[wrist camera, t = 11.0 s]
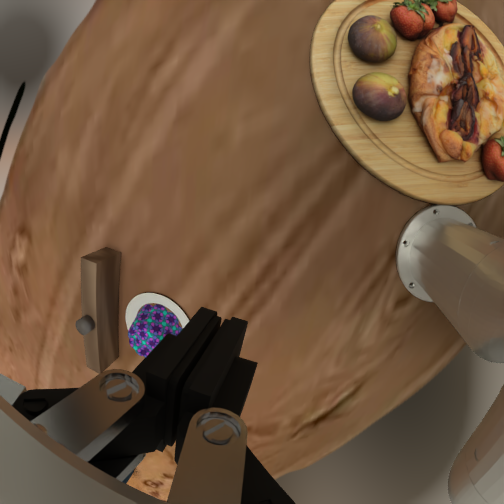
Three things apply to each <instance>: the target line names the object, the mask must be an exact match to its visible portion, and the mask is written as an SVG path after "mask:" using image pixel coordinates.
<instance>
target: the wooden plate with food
mask: <svg viewBox="0 0 504 504" xmlns="http://www.w3.org/2000/svg"><path fill="white" fill-rule="evenodd" d="M309 63H310V74H311V80H312V84H313V87H314V91H315V94H316V97H317V100H318V103H319V105H320V108H321V110H322V112H323V114H324V116H325V118H326V121H327V122H328V124H329V125H330V127H331V129H332V130H333V132H334V134H335V135H336V136H337V138H338V139H339V141H340V142H341V143H342V145H343V146H344V147H345V148H346V149H347V151H348V152H349V153H350V154H351V155H352V156H353V158H354V159H355V160H356V161H357V162H358V163H359V164H360V165H361V166H362V167H363V168H365V169H366V170H367V171H368V172H369V173H370V174H372V175H373V176H375V177H376V178H377V179H379V180H380V181H381V182H383V183H385V184H386V185H388V186H390V187H391V188H393V189H395V190H396V191H398V192H400V193H402V194H404V195H406V196H409V197H411V198H414V199H417V200H420V201H424V202H427V203H432V204H437V205H462V204H468V203H472V202H476V201H479V200H481V199H483V198H486V197H488V196H489V195H491V194H493V193H494V192H495V191H496V190H498V189H499V188H500V187H502V186H503V185H504V47H503V45H502V44H501V43H500V41H499V40H498V39H497V37H496V36H495V35H494V33H493V32H492V31H491V30H490V29H489V28H488V27H487V26H486V25H485V24H484V23H483V22H482V21H481V20H480V19H479V18H478V17H477V16H476V15H474V14H473V13H472V12H471V11H469V10H468V9H467V8H465V7H464V6H463V5H461V4H460V3H458V2H457V1H456V0H335V1H333V2H332V3H331V4H330V5H329V6H328V7H327V9H326V10H325V11H324V12H323V14H322V15H321V17H320V19H319V20H318V22H317V24H316V26H315V29H314V32H313V35H312V39H311V45H310V60H309Z"/></svg>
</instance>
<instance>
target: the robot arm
mask: <svg viewBox="0 0 504 504" xmlns="http://www.w3.org/2000/svg"><path fill="white" fill-rule="evenodd" d="M434 210H435V213H433V211H434ZM404 240H406V243H405V244H403V241H404ZM396 265H397V271H398V274H399V277H400V279H401V281H402V282H403V284H404V286H405V287H406V288H407V290H408V291H409V292H410V293H411V294H413V295H414V296H415V297H417V298H419V299H421V300H424V301H427V302H434V303H435V304H436V305H437V306H438V308H439V309H440V310H441V311H442V313H443V314H444V315H445V316H446V318H447V319H448V320H449V321H450V323H451V324H452V325H453V327H454V328H455V329H456V330H457V332H458V333H459V334H460V336H461V337H462V338H463V340H464V341H465V342H466V343H467V345H468V346H469V347H470V348H471V350H472V351H473V352H474V353H475V354H476V355H478V356H479V357H480V358H482V359H484V360H487V361H490V362H496V363H504V239H502V238H500V237H498V236H495V235H493V234H490V233H488V232H486V231H483V230H481V229H478V228H477V227H476V225H475V223H474V222H473V220H472V219H471V217H470V216H469V215H468V214H467V213H465V212H464V211H463V210H461V209H459V208H457V207H455V206H452V205H437V204H435V205H431V206H428V207H426V208H424V209H422V210H420V211H419V212H417V213H416V214H415V215H414V216H413V217H412V218H411V219H410V220H409V221H408V223H407V224H406V225H405V227H404V229H403V231H402V232H401V235H400V238H399V240H398V244H397V249H396ZM411 282H412V284H411V285H409V284H410V283H411ZM220 324H221V317H218V316H217V312H216V311H213V310H210V309H207V308H204V307H201V308H200V309H199V310H198V312H197V313H196V314H195V315H194V316H193V317H192V319H191V320H190V321H189V322H188V323H187V324H186V326H185V327H184V328H183V329H182V330H181V331H180V333H179V334H178V335H177V336H176V335H173V334H170V333H169V334H167V335H166V336H165V337H164V338H163V339H162V340H161V341H160V342H159V343H158V344H157V345H156V347H155V348H154V349H153V350H152V351H151V352H150V353H149V354H148V355H147V356H146V358H145V359H144V360H143V361H142V362H141V363H140V364H139V365H138V366H137V367H136V368H135V370H134V371H133V372H132V373H131V372H129V371H126V370H122V369H112V370H107V371H104V372H102V373H100V374H99V375H97V376H96V377H95V378H93V379H92V380H90V381H89V382H87V383H86V384H84V385H83V386H82V387H80V388H66V389H34V390H28V391H27V390H26V387H25V386H23V385H21V384H19V383H17V382H15V381H13V380H11V379H9V378H8V377H6V376H4V375H2V374H0V504H295V502H294V501H293V500H292V499H291V498H290V497H289V496H288V495H287V493H286V492H285V491H284V490H283V489H282V488H281V487H280V486H279V484H278V483H277V482H276V481H275V480H274V479H273V477H272V476H271V475H270V474H269V473H268V471H267V470H266V469H265V468H264V467H263V465H262V464H261V463H260V462H259V460H258V459H257V458H256V457H255V456H254V454H253V453H252V452H251V450H250V449H249V448H248V447H247V445H246V443H247V427H246V425H245V423H244V421H243V420H242V419H241V418H240V415H241V412H242V410H243V407H244V404H245V401H246V398H247V395H248V392H249V389H250V386H251V383H252V380H253V376H254V373H255V370H256V367H257V362H253V361H250V360H247V359H243V358H240V357H239V355H240V351H241V348H242V344H243V340H244V336H245V332H246V328H247V324H248V321H245V320H242V319H238V318H235V317H232V318H231V320H228V319H225V320H224V322H223V323H222V325H221V327H220ZM175 441H176V448H175V462H176V463H177V468H176V472H175V475H174V479H173V482H172V485H171V489H170V492H169V496H168V499H167V502H164V501H162V500H159V499H157V498H155V497H153V496H150V495H148V494H146V493H144V492H141V491H139V490H137V489H135V488H133V487H131V486H129V485H127V484H125V483H123V482H122V481H123V480H124V479H125V478H126V477H127V476H128V475H129V474H130V473H131V472H132V471H133V470H134V469H135V468H136V467H137V465H138V464H139V463H140V462H141V461H142V460H143V459H144V457H145V455H146V453H149V452H154V451H155V450H156V449H157V450H159V451H161V452H163V450H164V449H165V447H166V445H169V446H173V444H174V443H175ZM448 494H449V498H450V501H451V503H452V504H504V385H503V386H502V388H501V390H500V393H499V394H498V396H497V398H496V399H495V401H494V402H493V404H492V406H491V407H490V409H489V410H488V412H487V413H486V415H485V417H484V418H483V419H482V421H481V422H480V424H479V425H478V426H477V428H476V429H475V431H474V432H473V433H472V435H471V436H470V438H469V439H468V441H467V442H466V443H465V445H464V446H463V448H462V449H461V450H460V452H459V453H458V455H457V457H456V458H455V460H454V462H453V465H452V467H451V470H450V473H449V476H448Z"/></svg>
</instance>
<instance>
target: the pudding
mask: <svg viewBox="0 0 504 504" xmlns="http://www.w3.org/2000/svg"><path fill="white" fill-rule="evenodd" d="M148 303H158V304H161V305H158V304H156V305H155V306H151V305H149V304H148ZM145 304H148V305H145ZM143 305H145V306H144V307H143V308H142V309H141V311H140V312H139V313H138V314H137V312H138V310H139V309H140V308H141V307H142V306H143ZM162 305H163V306H162ZM164 306H165V307H167V308H169V309H170V310H171V311H172V312H173V313H174V314H175V315H176V316H177V317H178V319H179V320H180V322H181V325H182V328H184V327H185V326H186V324H187V323H188V322H189V320H188V318H187V316H186V315H185V313H184V312H183V311H182V310H181V309H180V307H179V306H178V305H176V304H175V303H174V302H173V301H171V300H170V299H168V298H166V297H164V296H162V295H159V294H155V293H143V294H140V295H137V296H136V297H134V298H133V299H132V300H131V301H130V303H129V304H128V306H127V310H126V324H127V328H128V336H129V338H130V339H129V343H130V345H131V346H132V347H133V348H134V349H135V351H136V352H137V353H138V354H139V355H140V356H144V357H146V356H147V355H148V354H149V353H150V352H151V351H152V350H153V349H154V348H155V347H156V345H157V344H158V343H159V342H160V341H161V340H162V339H163V338H164V337H165V336H166V335H167V334H169V333H170V334H173V335H176V336H177V335H178V334H179V333H180V331H181V330H182V328H181V327H180V326H179V325H178V319H177V317H176V316H175V315H174V314H173V313H171V312H168V311H167V310H166V308H165V307H164Z"/></svg>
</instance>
